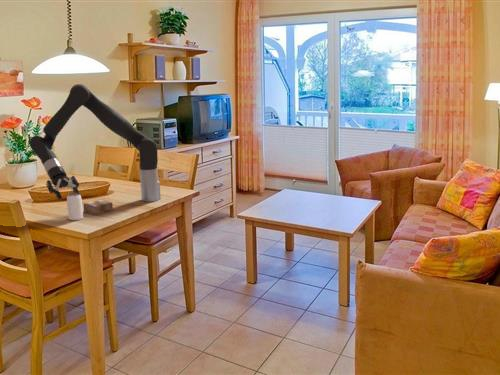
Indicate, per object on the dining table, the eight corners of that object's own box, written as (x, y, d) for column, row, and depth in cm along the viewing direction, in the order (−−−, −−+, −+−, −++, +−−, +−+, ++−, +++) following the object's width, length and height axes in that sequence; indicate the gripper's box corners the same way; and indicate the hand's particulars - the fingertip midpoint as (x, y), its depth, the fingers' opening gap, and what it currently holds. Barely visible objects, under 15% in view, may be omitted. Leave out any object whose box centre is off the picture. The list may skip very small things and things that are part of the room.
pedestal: (101, 207, 247) (100, 199, 246) (113, 210, 241) (112, 202, 240) (84, 211, 240) (83, 203, 239) (95, 215, 233) (94, 206, 232)
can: (85, 216, 231) (82, 192, 228) (80, 220, 225) (78, 195, 222) (71, 216, 231) (68, 192, 228) (66, 220, 225) (64, 196, 222)
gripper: (42, 167, 225) (57, 195, 221) (70, 163, 236) (85, 189, 231) (38, 177, 230) (52, 204, 225) (66, 172, 240) (80, 198, 236)
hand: (69, 196), depth 228 cm, fingers open, 8 cm apart
